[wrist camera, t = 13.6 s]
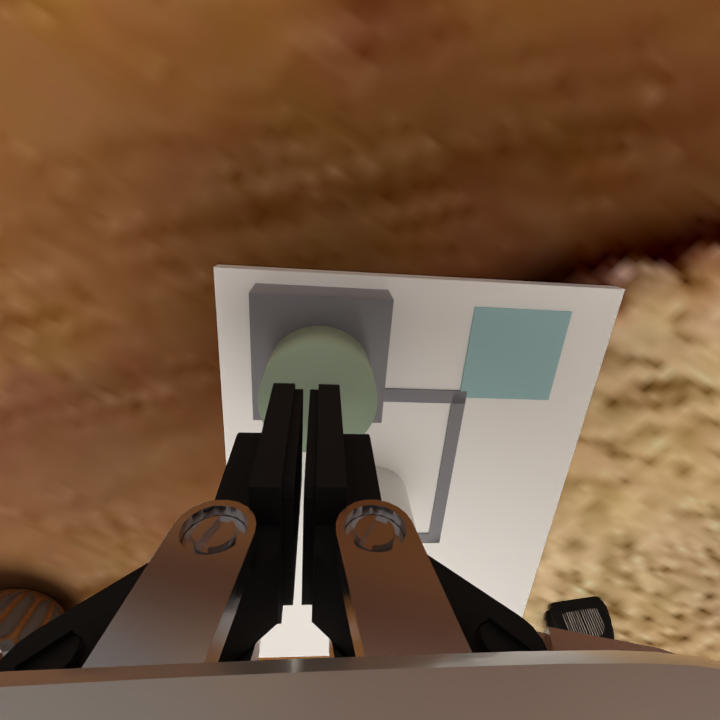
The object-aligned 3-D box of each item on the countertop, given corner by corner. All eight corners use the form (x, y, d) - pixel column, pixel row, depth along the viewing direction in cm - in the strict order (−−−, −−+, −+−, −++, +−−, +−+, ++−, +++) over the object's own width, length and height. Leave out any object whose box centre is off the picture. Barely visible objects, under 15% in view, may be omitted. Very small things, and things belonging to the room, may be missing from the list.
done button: (375, 328, 14) (382, 350, 12) (367, 421, 15) (372, 454, 14) (265, 323, 14) (255, 345, 12) (267, 419, 15) (259, 452, 13)
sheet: (615, 285, 17) (626, 290, 17) (507, 640, 26) (512, 652, 25) (217, 264, 16) (212, 267, 15) (241, 647, 24) (238, 660, 24)
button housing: (388, 289, 16) (393, 299, 15) (377, 404, 18) (381, 422, 17) (255, 283, 16) (248, 292, 14) (258, 401, 18) (252, 420, 16)
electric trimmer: (528, 738, 31) (549, 794, 28) (541, 600, 25) (569, 654, 22) (577, 730, 31) (603, 786, 29) (602, 590, 25) (637, 643, 22)
